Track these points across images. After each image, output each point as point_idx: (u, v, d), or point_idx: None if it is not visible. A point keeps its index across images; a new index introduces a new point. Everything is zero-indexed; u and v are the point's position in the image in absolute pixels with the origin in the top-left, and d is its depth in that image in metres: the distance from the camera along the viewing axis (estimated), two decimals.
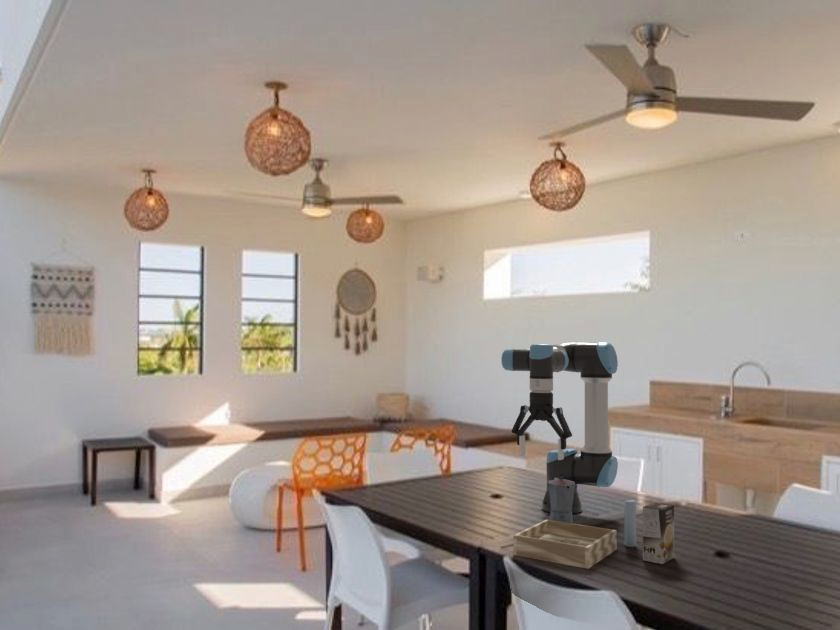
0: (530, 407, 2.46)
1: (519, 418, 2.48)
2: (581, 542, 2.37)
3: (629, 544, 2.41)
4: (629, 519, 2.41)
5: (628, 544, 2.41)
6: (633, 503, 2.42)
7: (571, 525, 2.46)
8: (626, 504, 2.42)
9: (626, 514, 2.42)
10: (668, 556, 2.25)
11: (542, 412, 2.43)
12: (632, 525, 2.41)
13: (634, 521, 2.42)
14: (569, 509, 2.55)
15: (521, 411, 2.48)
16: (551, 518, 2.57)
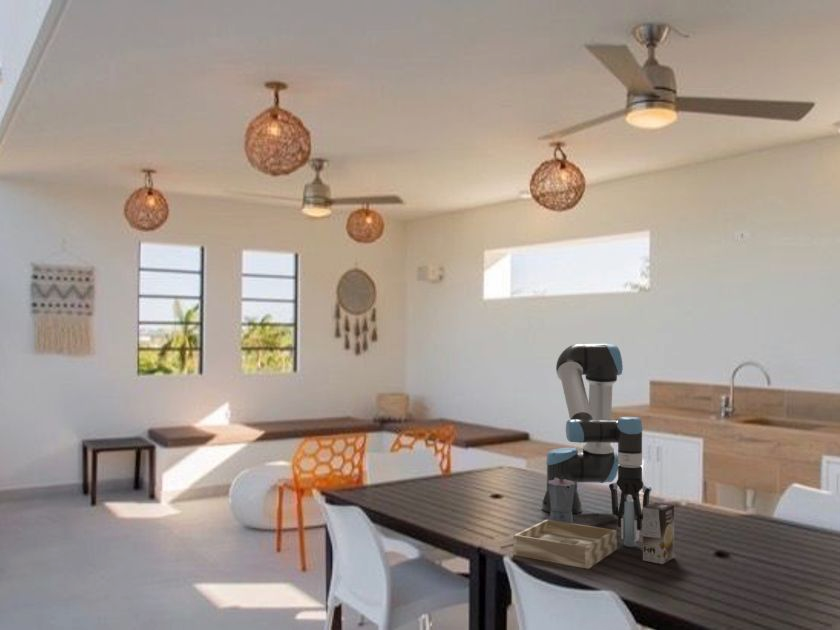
0: (618, 481, 2.44)
1: (613, 497, 2.45)
2: (581, 542, 2.37)
3: (629, 544, 2.41)
4: (629, 519, 2.41)
5: (628, 544, 2.41)
6: (633, 503, 2.42)
7: (571, 525, 2.46)
8: (626, 504, 2.42)
9: (626, 514, 2.42)
10: (668, 556, 2.25)
11: (632, 487, 2.41)
12: (632, 525, 2.41)
13: None
14: (569, 509, 2.55)
15: (611, 490, 2.45)
16: (551, 518, 2.57)
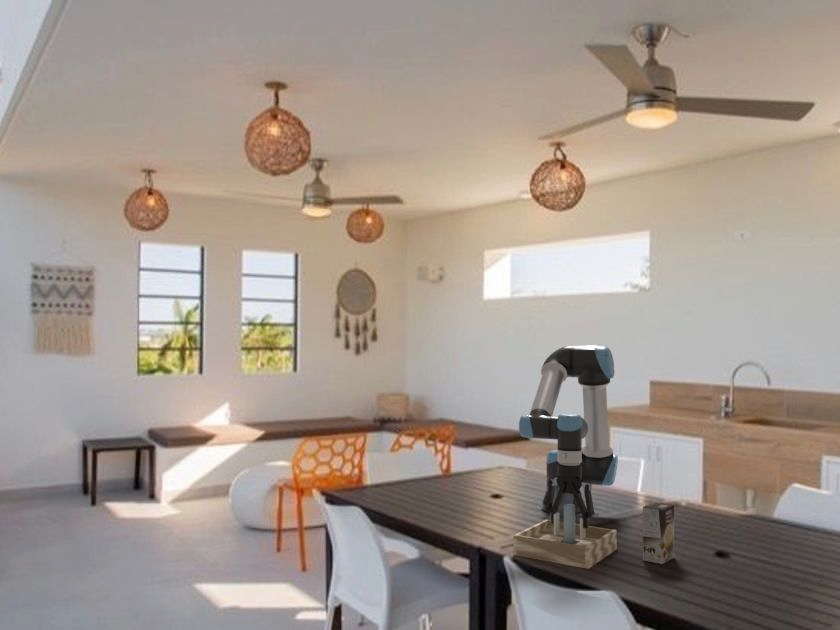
0: (557, 479, 2.39)
1: (549, 494, 2.40)
2: (581, 542, 2.37)
3: None
4: (567, 523, 2.36)
5: None
6: (572, 507, 2.36)
7: None
8: (565, 508, 2.37)
9: (565, 518, 2.37)
10: (668, 556, 2.25)
11: (571, 485, 2.35)
12: (571, 529, 2.36)
13: (573, 525, 2.36)
14: None
15: (550, 486, 2.40)
16: None
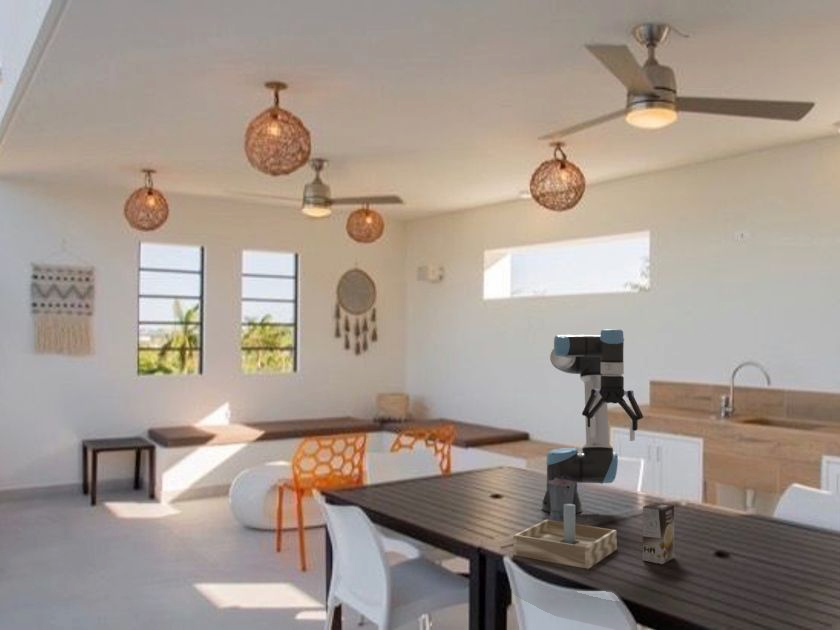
0: (601, 390, 2.54)
1: (590, 401, 2.56)
2: (581, 542, 2.37)
3: None
4: (567, 523, 2.36)
5: None
6: (572, 507, 2.36)
7: None
8: (565, 508, 2.37)
9: (565, 518, 2.37)
10: (668, 556, 2.25)
11: (614, 395, 2.51)
12: (571, 529, 2.36)
13: (573, 525, 2.36)
14: None
15: (592, 394, 2.56)
16: (551, 518, 2.57)
